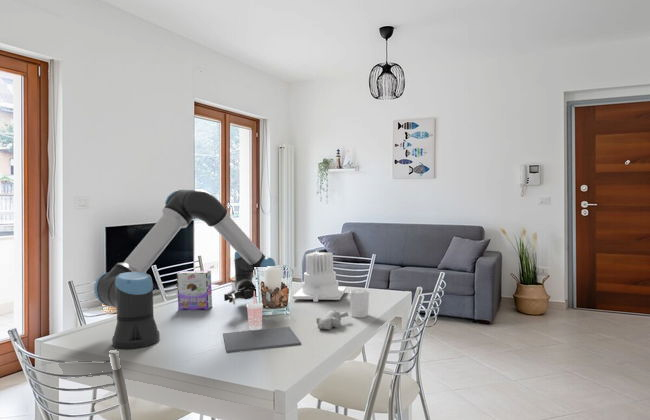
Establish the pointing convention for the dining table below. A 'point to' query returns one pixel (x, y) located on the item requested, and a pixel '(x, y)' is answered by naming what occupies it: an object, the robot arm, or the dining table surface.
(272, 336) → the mat
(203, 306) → the candy box
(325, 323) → the bunny figurine
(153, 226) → the robot arm
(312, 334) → the dining table surface
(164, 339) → the dining table surface
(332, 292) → the white finned lamp
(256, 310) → the beverage cup
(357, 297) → the white cup
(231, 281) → the lidded jar
